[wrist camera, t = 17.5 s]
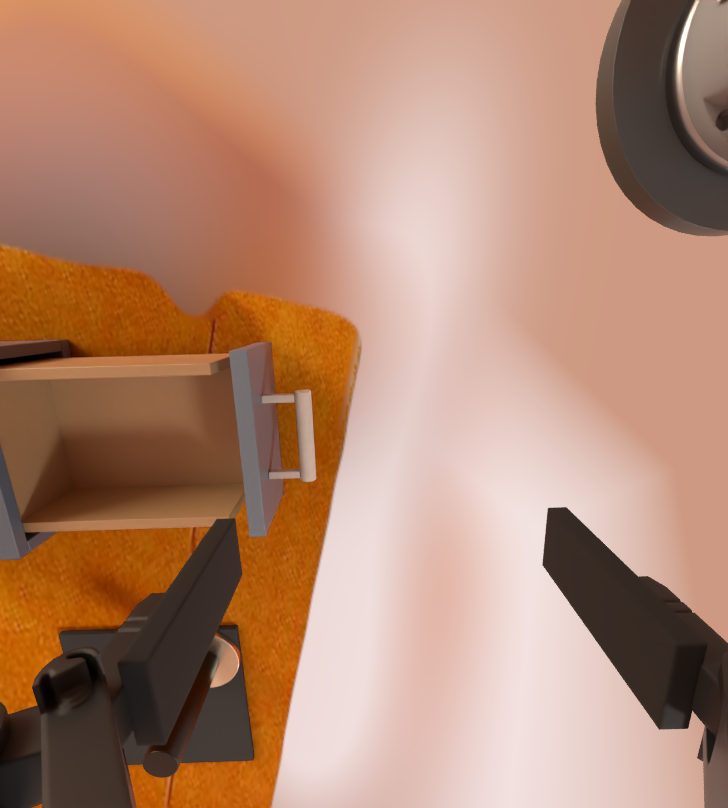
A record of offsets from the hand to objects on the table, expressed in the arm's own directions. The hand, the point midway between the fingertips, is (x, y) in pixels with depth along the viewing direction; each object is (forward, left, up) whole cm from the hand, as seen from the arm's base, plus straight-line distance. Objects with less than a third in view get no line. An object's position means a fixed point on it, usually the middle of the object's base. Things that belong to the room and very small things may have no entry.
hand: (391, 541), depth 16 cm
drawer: (+16, 0, -17) cm, 24 cm away
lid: (+18, +25, -18) cm, 36 cm away
